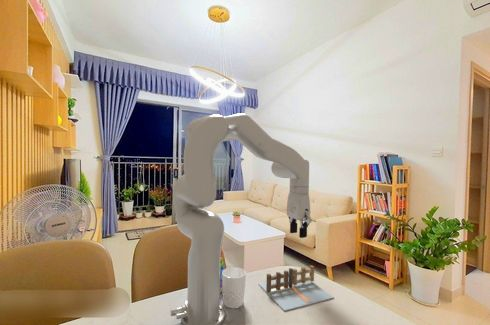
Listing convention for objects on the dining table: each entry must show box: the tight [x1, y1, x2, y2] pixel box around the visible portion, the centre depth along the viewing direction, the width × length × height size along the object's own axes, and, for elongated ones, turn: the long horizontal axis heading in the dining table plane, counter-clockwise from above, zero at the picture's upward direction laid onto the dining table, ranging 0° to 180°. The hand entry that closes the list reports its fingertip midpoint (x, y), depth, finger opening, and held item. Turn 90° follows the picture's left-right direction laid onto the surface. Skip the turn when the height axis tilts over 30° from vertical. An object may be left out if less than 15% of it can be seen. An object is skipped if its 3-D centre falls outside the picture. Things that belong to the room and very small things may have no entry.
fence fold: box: [292, 265, 315, 285], centre depth 93 cm, size 9×1×6 cm, turn 113°
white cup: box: [221, 266, 247, 309], centre depth 81 cm, size 8×8×10 cm
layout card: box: [258, 275, 335, 313], centre depth 89 cm, size 20×18×1 cm
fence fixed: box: [266, 267, 294, 293], centre depth 89 cm, size 10×1×7 cm, turn 113°
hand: (298, 234), depth 99 cm, fingers open, 5 cm apart
